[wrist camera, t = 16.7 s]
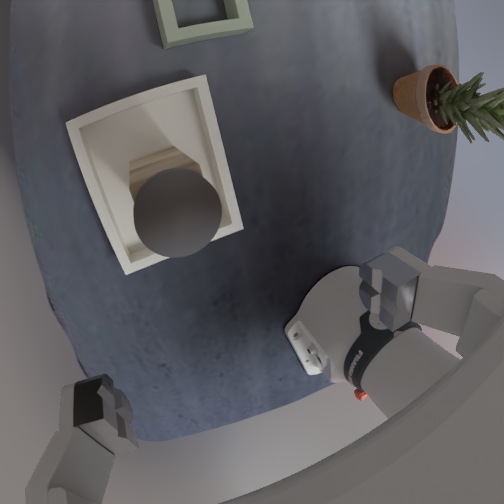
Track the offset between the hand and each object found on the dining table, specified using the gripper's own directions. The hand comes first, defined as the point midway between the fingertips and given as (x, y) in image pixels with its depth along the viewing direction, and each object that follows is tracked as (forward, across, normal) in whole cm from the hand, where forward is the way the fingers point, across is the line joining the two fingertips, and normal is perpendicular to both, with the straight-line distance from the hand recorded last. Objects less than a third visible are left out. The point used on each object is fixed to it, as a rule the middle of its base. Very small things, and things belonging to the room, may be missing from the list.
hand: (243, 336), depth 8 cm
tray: (+24, 0, 0) cm, 24 cm away
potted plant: (+25, -35, -2) cm, 43 cm away
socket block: (+24, -8, -16) cm, 30 cm away
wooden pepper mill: (+24, 0, 0) cm, 24 cm away
